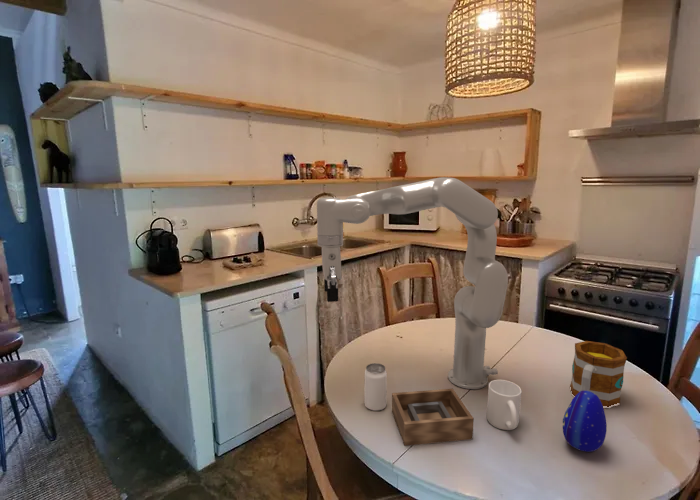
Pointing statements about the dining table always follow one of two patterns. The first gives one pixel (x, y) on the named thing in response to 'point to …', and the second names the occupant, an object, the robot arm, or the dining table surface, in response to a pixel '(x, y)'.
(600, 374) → the mug
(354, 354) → the dining table surface
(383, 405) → the can
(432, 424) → the bin
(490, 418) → the mug
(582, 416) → the ornament
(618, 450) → the dining table surface
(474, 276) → the robot arm
